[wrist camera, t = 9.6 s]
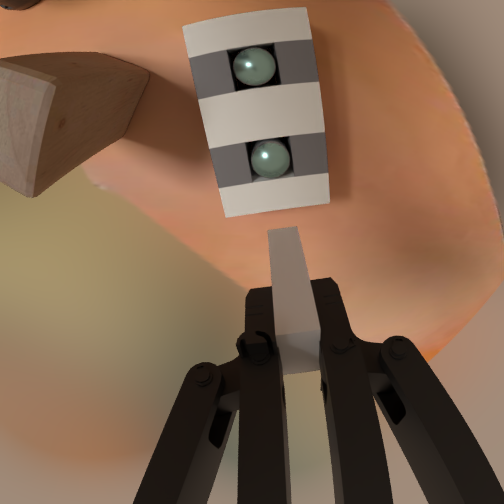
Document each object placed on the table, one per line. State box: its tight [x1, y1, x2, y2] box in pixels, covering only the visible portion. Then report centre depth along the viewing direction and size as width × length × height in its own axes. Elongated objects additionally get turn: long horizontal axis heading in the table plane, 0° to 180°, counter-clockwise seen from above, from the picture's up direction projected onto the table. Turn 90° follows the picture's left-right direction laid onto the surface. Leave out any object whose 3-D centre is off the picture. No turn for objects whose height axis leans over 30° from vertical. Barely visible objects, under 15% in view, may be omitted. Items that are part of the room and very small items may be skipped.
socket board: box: [182, 7, 330, 218], centre depth 29 cm, size 22×12×7 cm, turn 10°
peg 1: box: [233, 48, 276, 86], centre depth 26 cm, size 4×4×7 cm
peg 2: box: [251, 137, 290, 178], centre depth 31 cm, size 4×4×7 cm
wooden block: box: [0, 52, 149, 198], centre depth 21 cm, size 10×10×20 cm
